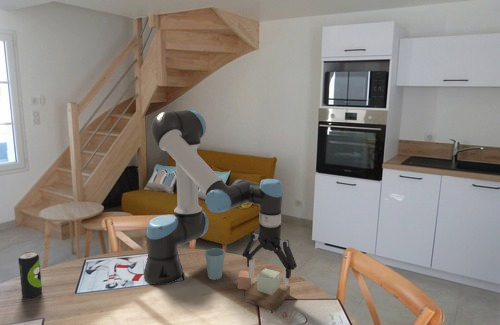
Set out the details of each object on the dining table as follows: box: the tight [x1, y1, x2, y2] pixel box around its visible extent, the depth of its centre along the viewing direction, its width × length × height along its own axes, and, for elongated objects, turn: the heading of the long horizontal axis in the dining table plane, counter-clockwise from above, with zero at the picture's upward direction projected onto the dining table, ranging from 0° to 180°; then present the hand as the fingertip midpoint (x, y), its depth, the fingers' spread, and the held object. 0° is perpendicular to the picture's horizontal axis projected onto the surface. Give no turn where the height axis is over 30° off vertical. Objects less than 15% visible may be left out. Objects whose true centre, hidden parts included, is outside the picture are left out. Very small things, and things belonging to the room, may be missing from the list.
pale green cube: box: [256, 267, 281, 295], centre depth 133 cm, size 6×6×6 cm
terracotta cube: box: [237, 269, 254, 291], centre depth 142 cm, size 5×5×5 cm
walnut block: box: [244, 280, 291, 312], centre depth 134 cm, size 12×12×4 cm
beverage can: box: [18, 250, 43, 299], centre depth 132 cm, size 6×6×15 cm
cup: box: [204, 247, 226, 281], centre depth 148 cm, size 8×8×10 cm
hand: (268, 280), depth 133 cm, fingers open, 13 cm apart
